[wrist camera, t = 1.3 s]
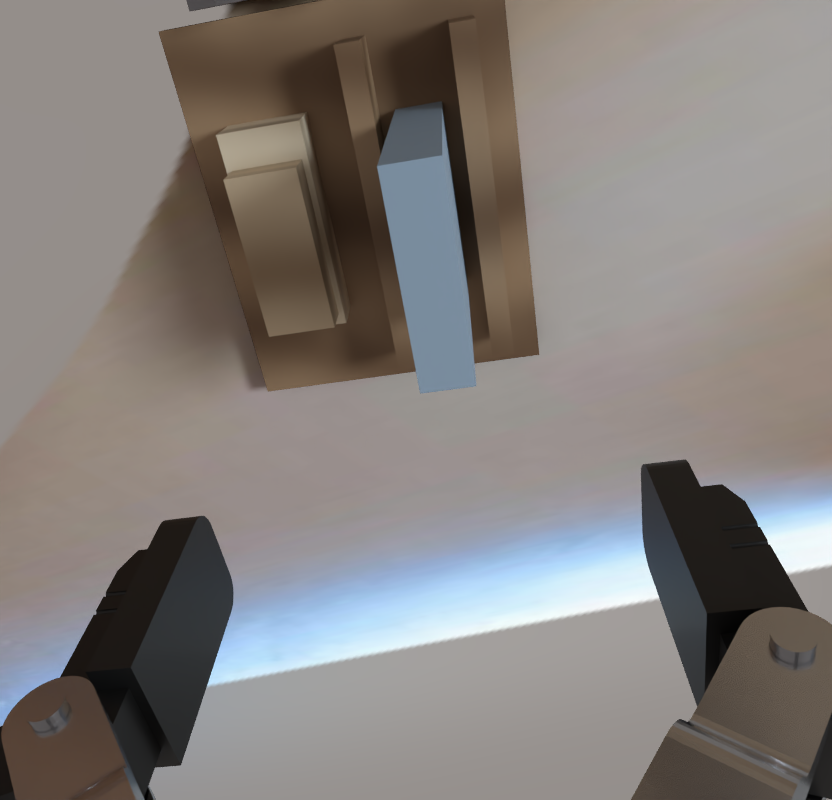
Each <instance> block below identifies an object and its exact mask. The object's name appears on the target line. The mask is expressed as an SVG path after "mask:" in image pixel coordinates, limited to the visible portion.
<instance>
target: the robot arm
mask: <svg viewBox="0 0 832 800" xmlns="http://www.w3.org/2000/svg"><path fill="white" fill-rule="evenodd" d="M641 492H642V530H643V542H644V548H645V554H646V558H647V563H648V566H649V569H650V572H651V575H652V578H653V581H654V584H655V586H656V589H657V592H658V595H659V598H660V601H661V604H662V606H663V609H664V612H665V615H666V618H667V621H668V624H669V627H670V629H671V632H672V635H673V638H674V641H675V644H676V647H677V650H678V652H679V655H680V658H681V661H682V664H683V667H684V670H685V673H686V675H687V678H688V681H689V684H690V687H691V690H692V693H693V695H694V698H695V701H696V704H697V709H696V711H695V712H694V714H693V716H692V718H691V719H690V721H688V722H686V721H684V720H681V719H679V720H677V721H676V722H675V723H674V724H673V726H672V727H671V728H670V730H669V731H668V733H667V735H666V736H665V738H664V740H663V742H662V744H661V746H660V747H659V749H658V751H657V753H656V755H655V757H654V758H653V760H652V762H651V764H650V766H649V768H648V769H647V771H646V773H645V775H644V777H643V779H642V780H641V782H640V784H639V786H638V788H637V790H636V791H635V793H634V795H633V797H632V799H631V800H826V798H829V799H832V625H831V624H830V623H829V622H827V621H826V620H824V619H822V618H821V617H819V616H817V615H815V614H812V613H810V612H808V610H807V609H806V607H805V605H804V603H803V602H802V600H801V598H800V596H799V594H798V593H797V591H796V589H795V588H794V586H793V584H792V582H791V581H790V579H789V577H788V575H787V574H786V572H785V570H784V568H783V567H782V565H781V563H780V561H779V560H778V558H777V556H776V554H775V553H774V551H773V549H772V547H771V546H770V545H768V542H767V539H766V537H765V535H764V533H763V532H762V530H761V528H760V527H758V524H757V521H756V519H755V518H754V516H753V514H752V513H751V511H750V509H749V507H748V506H747V504H746V502H745V501H744V500H742V499H741V498H740V497H738V496H737V495H736V494H734V493H733V492H732V491H730V490H729V489H728V488H726V487H725V486H724V485H722V484H721V485H712V486H703V487H700V485H699V483H698V481H697V479H696V477H695V475H694V473H693V471H692V469H691V467H690V465H689V463H688V462H687V460H677V461H668V462H660V463H651V464H643V465H642V468H641ZM232 606H233V584H232V579H231V576H230V573H229V570H228V568H227V565H226V563H225V560H224V557H223V555H222V552H221V549H220V547H219V544H218V542H217V539H216V536H215V534H214V531H213V529H212V526H211V524H210V522H209V520H208V519H207V518H206V517H205V516H198V517H189V518H181V519H172V520H165V521H163V522H162V523H161V524H160V526H159V528H158V530H157V532H156V534H155V536H154V538H153V540H152V541H151V543H150V545H149V547H148V549H146V550H138V551H137V552H136V553H135V554H134V555H133V556H132V557H131V558H130V559H129V560H128V561H127V562H126V563H125V564H124V565H123V566H122V567H121V568H120V569H119V570H118V571H117V573H116V575H115V576H114V578H113V580H112V582H111V584H110V586H109V588H108V589H107V591H106V597H103V599H102V601H101V602H100V604H99V606H98V608H97V610H96V612H97V614H96V615H93V617H92V619H91V621H90V623H89V625H88V627H87V628H86V630H85V632H84V634H83V636H82V638H81V640H80V641H79V643H78V645H77V647H76V649H75V651H74V653H73V654H72V656H71V658H70V660H69V662H68V664H67V666H66V667H65V669H64V671H63V673H62V675H61V677H60V678H57V679H54V680H51V681H49V682H46V683H44V684H42V685H40V686H39V687H37V688H36V689H34V690H32V691H31V692H30V693H28V694H27V695H26V696H25V697H23V698H22V699H21V700H20V701H19V702H18V703H17V704H16V705H15V707H14V708H13V709H12V710H11V712H10V713H9V714H8V716H7V718H6V720H5V722H4V724H3V726H1V727H0V800H156V799H155V796H154V794H153V792H152V790H151V789H150V787H149V782H150V779H151V777H152V774H153V771H154V768H155V767H167V766H178V765H181V763H182V760H183V757H184V754H185V751H186V748H187V745H188V742H189V739H190V736H191V733H192V730H193V727H194V723H195V720H196V717H197V714H198V711H199V708H200V705H201V702H202V699H203V696H204V693H205V690H206V687H207V684H208V681H209V678H210V675H211V672H212V669H213V666H214V662H215V659H216V656H217V653H218V650H219V647H220V644H221V641H222V638H223V635H224V632H225V629H226V626H227V623H228V620H229V617H230V614H231V610H232Z"/></svg>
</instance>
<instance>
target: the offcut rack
mask: <svg viewBox="0 0 832 800" xmlns="http://www.w3.org/2000/svg"><path fill="white" fill-rule="evenodd" d="M159 35H160V38H161V42H162V45H163V48H164V52H165V55H166V58H167V61H168V65H169V68H170V71H171V75H172V78H173V81H174V84H175V88H176V91H177V94H178V98H179V101H180V104H181V107H182V110H183V114H184V117H185V120H186V124H187V127H188V130H189V134H190V137H191V140H192V144H193V147H194V150H195V153H196V157H197V160H198V163H199V167H200V170H201V173H202V176H203V180H204V183H205V186H206V190H207V193H208V196H209V199H210V203H211V206H212V209H213V213H214V216H215V219H216V222H217V226H218V229H219V232H220V236H221V239H222V242H223V245H224V249H225V252H226V255H227V259H228V262H229V265H230V268H231V272H232V275H233V278H234V282H235V285H236V288H237V291H238V295H239V298H240V301H241V305H242V308H243V311H244V314H245V318H246V321H247V324H248V327H249V331H250V334H251V337H252V341H253V344H254V347H255V350H256V354H257V357H258V360H259V364H260V367H261V370H262V373H263V377H264V380H265V383H266V387H267V390H268V391H275V390H282V389H290V388H297V387H304V386H312V385H319V384H326V383H334V382H341V381H348V380H356V379H363V378H370V377H378V376H385V375H393V374H400V373H407V372H415V371H416V368H415V363H414V358H413V353H412V347H411V342H410V337H409V332H408V326H407V321H406V316H405V311H404V305H403V300H402V295H401V290H400V284H399V279H398V274H397V268H396V263H395V258H394V253H393V247H392V242H391V237H390V232H389V226H388V221H387V216H386V211H385V205H384V200H383V195H382V190H381V184H380V179H379V174H378V169H377V165H378V162H379V158H380V155H381V152H382V149H383V146H384V143H385V140H386V137H387V134H388V130H389V127H390V124H391V121H392V118H393V115H394V112H395V109H400V108H406V107H411V106H417V105H423V104H428V103H434V102H440V101H442V105H443V112H444V119H445V126H446V133H447V140H448V147H449V154H450V161H451V168H452V175H453V182H454V189H455V196H456V203H457V210H458V217H459V224H460V231H461V238H462V245H463V252H464V259H465V266H466V273H467V282H468V293H469V305H470V317H471V329H472V341H473V353H474V363H481V362H488V361H495V360H503V359H510V358H517V357H525V356H532V355H539V348H538V338H537V328H536V317H535V307H534V297H533V287H532V276H531V266H530V256H529V246H528V235H527V225H526V215H525V205H524V194H523V184H522V174H521V164H520V153H519V143H518V133H517V123H516V112H515V102H514V92H513V81H512V71H511V61H510V51H509V40H508V30H507V20H506V10H505V0H319V1H314V2H309V3H304V4H299V5H293V6H288V7H283V8H278V9H273V10H267V11H262V12H257V13H252V14H247V15H241V16H236V17H231V18H226V19H221V20H216V21H210V22H205V23H200V24H195V25H190V26H185V27H179V28H174V29H169V30H164V31H160V32H159ZM305 112H307V116H308V120H309V124H310V129H311V133H312V138H313V142H314V146H315V151H316V155H317V160H318V164H319V168H320V173H321V177H322V182H323V186H324V190H325V195H326V199H327V204H328V208H329V212H330V217H331V221H332V226H333V230H334V234H335V239H336V243H337V248H338V252H339V256H340V261H341V265H342V270H343V274H344V278H345V283H346V287H347V292H348V296H349V300H350V305H351V307H350V311H349V315H348V318H347V322H346V323H343V324H336V325H335V327H334V328H327V329H320V330H313V331H306V332H300V333H293V334H286V335H279V336H272V337H269V335H268V331H267V328H266V325H265V321H264V318H263V314H262V311H261V307H260V304H259V301H258V297H257V294H256V290H255V287H254V283H253V280H252V277H251V273H250V270H249V266H248V263H247V259H246V256H245V253H244V249H243V246H242V242H241V239H240V235H239V232H238V229H237V225H236V222H235V218H234V215H233V211H232V208H231V205H230V201H229V198H228V194H227V191H226V187H225V184H224V181H223V180H224V179H225V178H226V177H227V176H228V175H227V172H226V168H225V165H224V161H223V158H222V154H221V151H220V148H219V144H218V141H217V137H216V135H217V134H218V133H219V132H221V131H222V130H223V129H225V128H226V127H227V126H231V125H237V124H242V123H248V122H254V121H259V120H265V119H271V118H276V117H282V116H288V115H293V114H299V113H305Z"/></svg>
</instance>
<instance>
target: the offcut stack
mask: <svg viewBox="0 0 832 800" xmlns="http://www.w3.org/2000/svg"><path fill="white" fill-rule="evenodd" d="M216 137H217V141H218V144H219V148H220V151H221V154H222V158H223V161H224V165H225V168H226V172H227V175H228V176H227V177H226V178H225V179H224V180H223V181H224V184H225V187H226V191H227V194H228V198H229V201H230V205H231V208H232V211H233V215H234V218H235V222H236V225H237V229H238V232H239V235H240V239H241V242H242V246H243V249H244V253H245V256H246V259H247V263H248V266H249V270H250V273H251V277H252V280H253V283H254V287H255V290H256V294H257V297H258V301H259V304H260V307H261V311H262V314H263V318H264V321H265V325H266V328H267V331H268V335H269V337H272V336H279V335H286V334H293V333H300V332H306V331H313V330H320V329H327V328H334V327H335V325H336V324H343V323H346V322H347V318H348V315H349V311H350V307H351V305H350V300H349V296H348V292H347V287H346V283H345V278H344V274H343V270H342V265H341V261H340V256H339V252H338V248H337V243H336V239H335V234H334V230H333V226H332V221H331V217H330V212H329V208H328V204H327V199H326V195H325V190H324V186H323V182H322V177H321V173H320V168H319V164H318V160H317V155H316V151H315V146H314V142H313V138H312V133H311V129H310V124H309V120H308V116H307V112H305V113H299V114H293V115H288V116H282V117H276V118H271V119H265V120H259V121H254V122H248V123H242V124H237V125H231V126H227V127H226V128H225V129H223V130H222V131H221V132H219V133H218V134H217V135H216Z"/></svg>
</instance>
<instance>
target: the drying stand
mask: <svg viewBox="0 0 832 800" xmlns="http://www.w3.org/2000/svg"><path fill="white" fill-rule="evenodd" d="M241 1H246V0H187V4H188V7H189V10H190V11H194V10H200V9H205V8H210V7H215V6H220V5H225V4H231V3H236V2H241Z"/></svg>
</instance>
